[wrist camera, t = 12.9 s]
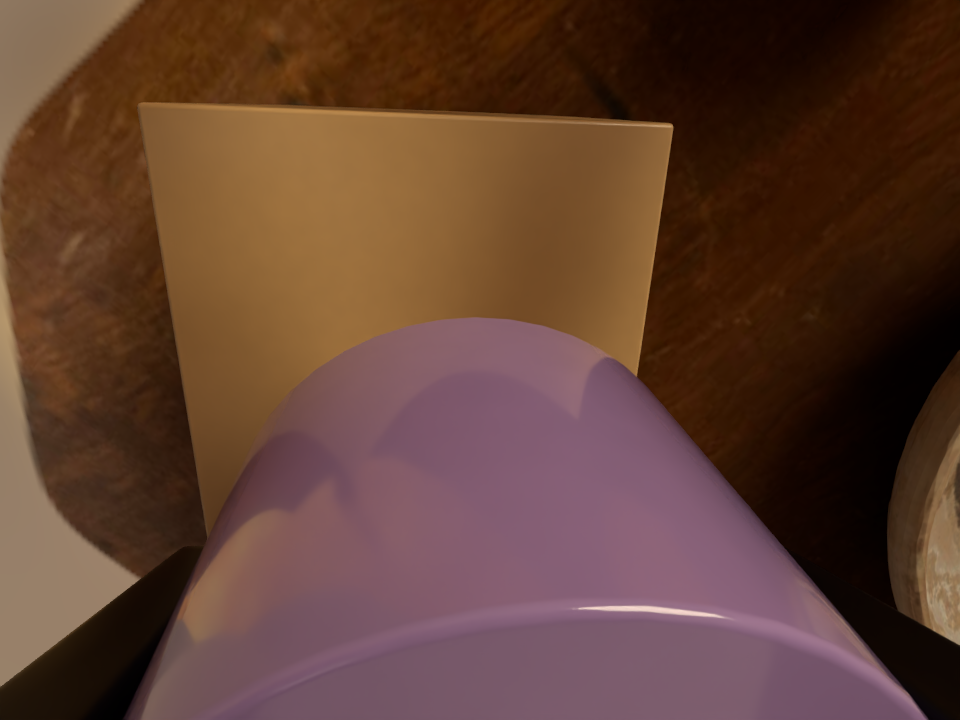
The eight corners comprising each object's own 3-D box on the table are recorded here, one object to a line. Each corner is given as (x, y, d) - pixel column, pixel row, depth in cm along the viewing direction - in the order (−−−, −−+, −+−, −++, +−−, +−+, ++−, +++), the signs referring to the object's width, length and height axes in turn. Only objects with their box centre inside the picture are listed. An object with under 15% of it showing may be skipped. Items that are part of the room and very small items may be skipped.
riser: (309, 564, 23) (252, 821, 15) (269, 104, 17) (133, 101, 9) (518, 555, 24) (576, 794, 16) (552, 115, 18) (676, 123, 10)
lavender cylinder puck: (260, 704, 9) (131, 1214, 5) (204, 316, 7) (-128, 653, 3) (652, 676, 10) (835, 1102, 6) (722, 314, 7) (1121, 576, 3)
